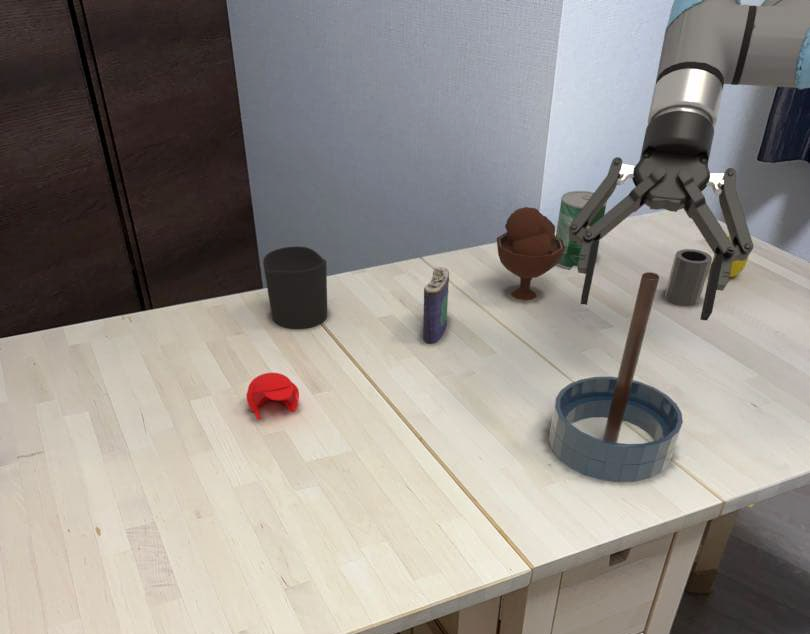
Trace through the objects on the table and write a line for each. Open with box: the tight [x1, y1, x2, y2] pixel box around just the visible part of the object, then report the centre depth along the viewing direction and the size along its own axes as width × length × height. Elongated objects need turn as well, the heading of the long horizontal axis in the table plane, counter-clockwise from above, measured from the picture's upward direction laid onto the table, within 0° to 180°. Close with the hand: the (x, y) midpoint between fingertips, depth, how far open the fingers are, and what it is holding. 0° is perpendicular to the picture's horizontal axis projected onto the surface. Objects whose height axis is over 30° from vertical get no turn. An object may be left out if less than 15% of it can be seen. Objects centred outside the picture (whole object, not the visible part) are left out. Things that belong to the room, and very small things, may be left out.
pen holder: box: [262, 246, 328, 330], centre depth 115 cm, size 9×9×10 cm
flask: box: [422, 266, 450, 345], centre depth 112 cm, size 9×3×11 cm, turn 166°
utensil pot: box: [664, 248, 713, 307], centre depth 122 cm, size 6×6×8 cm
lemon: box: [712, 235, 749, 278], centre depth 129 cm, size 6×6×8 cm
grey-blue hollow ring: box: [548, 376, 684, 483], centre depth 93 cm, size 15×15×6 cm
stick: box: [602, 271, 660, 443], centre depth 87 cm, size 2×2×22 cm
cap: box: [246, 372, 300, 421], centre depth 97 cm, size 8×6×6 cm
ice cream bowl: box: [496, 206, 565, 302], centre depth 120 cm, size 11×11×15 cm
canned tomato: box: [555, 190, 608, 270], centre depth 133 cm, size 8×8×11 cm
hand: (644, 308), depth 85 cm, fingers open, 13 cm apart
